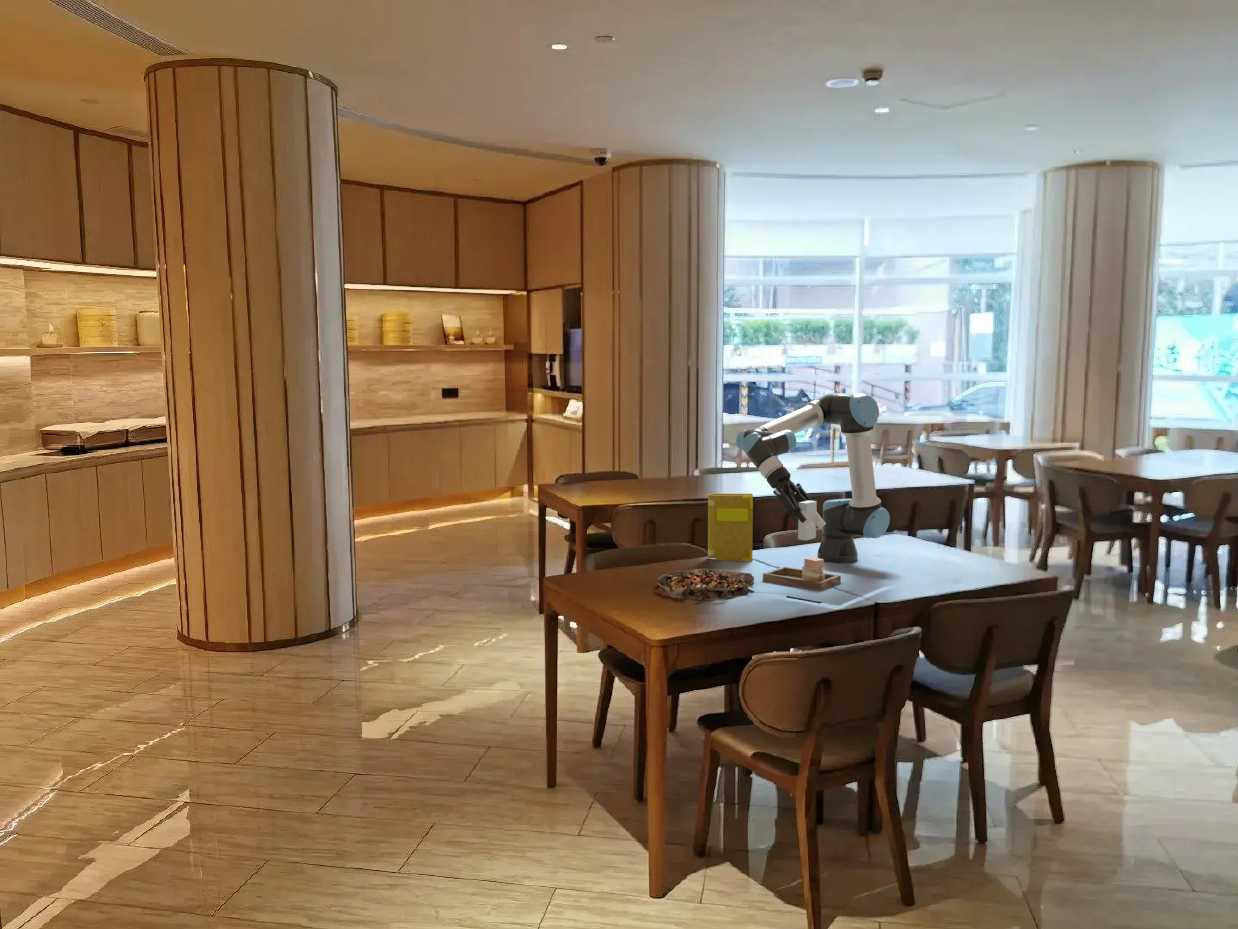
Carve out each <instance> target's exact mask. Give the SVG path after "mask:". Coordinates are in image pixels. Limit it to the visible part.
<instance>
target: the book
mask: <svg viewBox="0 0 1238 929" xmlns="http://www.w3.org/2000/svg"><path fill="white" fill-rule="evenodd" d="M753 514H754V495H753V493H708V494H707V559H708V558H716V559H718V560H717V561H742V562H753V538H754V537H753V526H754V525H753V522H754V515H753Z"/></svg>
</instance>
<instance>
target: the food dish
mask: <svg viewBox="0 0 1238 929" xmlns="http://www.w3.org/2000/svg"><path fill="white" fill-rule="evenodd" d="M754 582H755V577H754V576H753V575H752V573H750V572H742V571H737V570H729V569H721V568H705V567H704V568H694V569H687V570H678V571H672V572H668V573H665V574H662V575H660V576H658V577H657V579H656V584H657V585H658V586H659V587H661V589H662V590H665V592H667V595H668V596H669V597H670V598H674V599H688V600H689V599H691V600H698V601H703V600H704V601H707V600H708V601H710V600H711V601H716V600H717V601H719V600H729V599H734V598H736V597H737V596H741V597H742V596H746V595H749V594H750V592H751V589H750V587H751V586H753V585H754V584H755V583H754ZM661 583H662V584H661Z"/></svg>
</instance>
